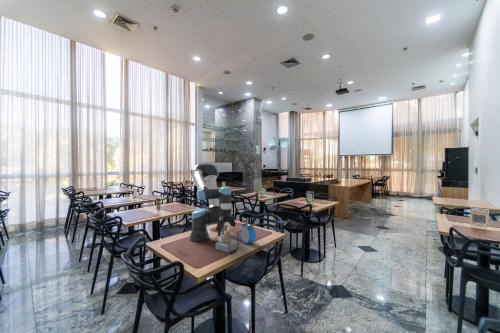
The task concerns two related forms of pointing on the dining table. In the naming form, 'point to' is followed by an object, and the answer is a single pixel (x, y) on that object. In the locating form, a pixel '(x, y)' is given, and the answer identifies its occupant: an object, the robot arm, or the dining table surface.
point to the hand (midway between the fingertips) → (226, 237)
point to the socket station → (229, 241)
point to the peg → (225, 237)
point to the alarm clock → (247, 233)
